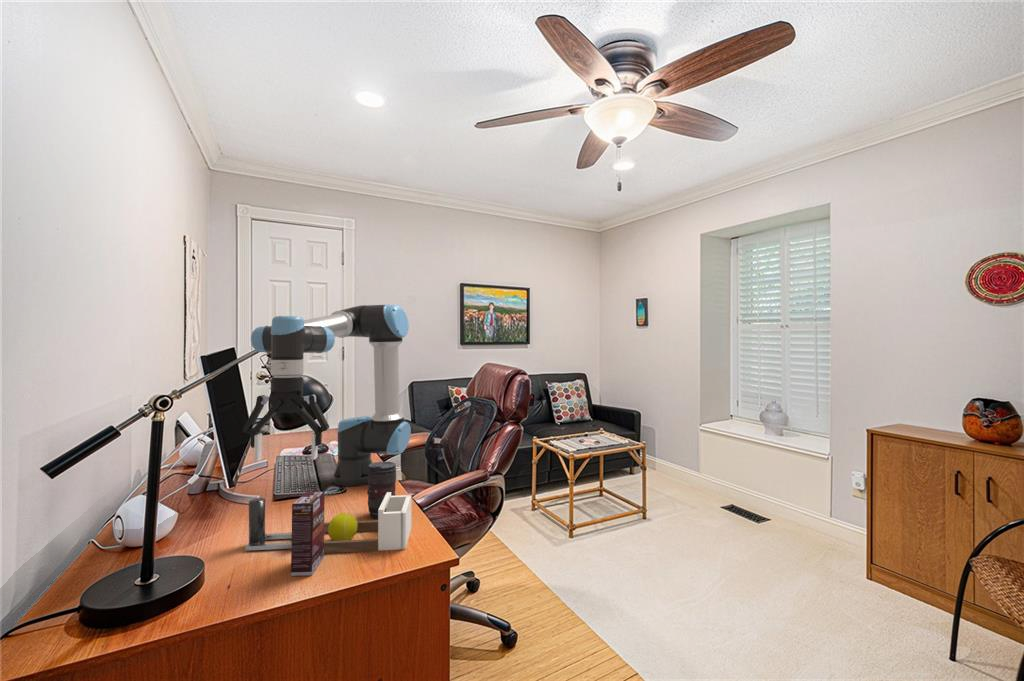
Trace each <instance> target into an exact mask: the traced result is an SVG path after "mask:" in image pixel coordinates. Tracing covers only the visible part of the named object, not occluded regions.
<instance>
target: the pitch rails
mask: <svg viewBox="0 0 1024 681" xmlns="http://www.w3.org/2000/svg"><path fill="white" fill-rule="evenodd" d="M329 523H330V521H329V522H324V534H329V533H328V526H329ZM357 523H358V527H357V532H356V533H360V532H378V519H376V520H375V519H374V520H358V521H357ZM375 551H376V552H378V538H365V539H350V540H343V541H333V540H327V541H326V540H324V554H333V553H334V554H337V553H338V554H339V553H356V552H357V553H359V552H375Z"/></svg>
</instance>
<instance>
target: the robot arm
mask: <svg viewBox="0 0 1024 681" xmlns="http://www.w3.org/2000/svg"><path fill="white" fill-rule="evenodd" d="M409 325H410V324H409V319H408V316H407V314H406V312H405V310H404V309H403V308H402V307H401V306H399V305H397V304H378V305H377V304H369V305H357V306H352V307H348V308H344V309H340V310H335V311H334V312H332V313H331V314H329V315H324V316H320V317H313V318H310V319H304V318H303V317H302V316H293V315H278V316H274V317H273V318H272V319H271V325H264V326H258V327H256V328H255V329H253V331H252V333H251V334H250V342H251V346H252V348H253V349H254V350H255V351H256V352H258V353H266V354H271V355H270V376H273V377H271V378H270V395H269V396H267V395H265V394H262V395H258V396H257V397H256V402H255V405H254V407H253V410H252V411H251V413H250V414H249V417H248V418H247V420H246V422H245V424H244V426H243V427H242V430H241V431H242V433H244V434H245V433H246V434H249V435H250V448H251V449H253V448H254V450H253V451H254V456H253V457H254V458H253V460H254V462H259V461H261V460H262V459H263V433H260V431H261V430H262V429H263V428H264V427H265V426H266V425H267V423H268V422H269V421H270V420H271V419H272V418H273V417H274V416H275V414H277V413H279V414H285V413H287V414H293V413H296V414H297V415H298V416H299V417H300V418H301V419H302V420H303V422H305V423H306V424H307V425H308V427H310V429H311V430H312V431H313V433H312V434H311V449H310V450H311V461H312V460H313V461H314V460H316V459H317V458H318V447H319V446H321V445H322V441H323V440H322V436H323V434H322V433H323V432H326V431H327V430H329V429H330V424H329V423H328V421H327V420H326V417H325V416H324V413H323V411H322V409H321V407H320V405H319V403H318V400H317V395H316V394H310V395H305V394H304V377H303V375H304V353H305V354H308V353H309V354H315V353H316V354H322V353H327V352H329V351H331V349H333V347H334V345H335V342H336V338H339V339H340V338H347V337H349V338H350V337H357V338H358V337H359V338H368V342H369V344H370V345H371V346H372V347H373V366H374V368H373V375H374V376H373V378H374V380H373V381H374V411H375V412H374V414H373V415H372V416H370V415H363V416H362V415H361V416H356V417H349V418H345V419H342V420H340V421H339V422H338V425H337V462H336V465H335V468H334V471H333V475H332V483H333V482H334V483H335V484H334V483H333V484H334V485H336V484H339V485H338V486H340V485H342V486H343V487H352V486H361V485H365V484H368V469H369V465H370V464H371V463H373V460H372V454H377V455H378V454H380V455H387V456H390V455H401V454H402V453H403V452H404V451H405V450H406V449H407V447H408V445H409V443H410V439H411V434H412V432H411V431H412V429H411V426H410V423H408V422H407V421H405V416H404V415H405V414H403V413H402V412H401V410H400V408H401V406H400V370H399V367H400V366H399V362H400V361H399V360H400V359H399V346H400V345H401V344H402V343H403V338H404V337H406V336H407V335H408V333H409ZM268 402H269V403H270V405H271V408H270V409H269V410H268V411H267V412H266V413H265V414H264V416H263V417H262V418H261V419H260V420H259V421H258V422H257V420H258V417H259V416H260V414H261V412H263V411H262V410H263V409H264V406H265V405H267V403H268ZM305 402H306V403H307V405H309V407H310V409H311V411H312V413H313V414H314V417H315V418H316V420H317V421H316V420H315V419H314V418H313V417H312V415H311V414H310V413H309V412H308V411H307V410H306V408H305V407H304V405H303V403H305ZM256 422H257V424H256ZM255 424H256V425H255ZM254 425H255V426H254ZM342 486H341V487H342Z"/></svg>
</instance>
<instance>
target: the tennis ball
mask: <svg viewBox="0 0 1024 681" xmlns="http://www.w3.org/2000/svg"><path fill="white" fill-rule="evenodd" d="M329 522H330V523H329ZM329 522H328V523H329V526H328V533H327V534H328V535H329V538H330V539H331V541H343V540H353V538H354V536H355V535H356V533H358V532H357V527H358V523H357V518H356V517H355V516H354V515H353V514H352V513H349V512H342V513H341V512H340V513H338V514H335V516H333V517H332V518H331V519H330V521H329Z"/></svg>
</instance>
